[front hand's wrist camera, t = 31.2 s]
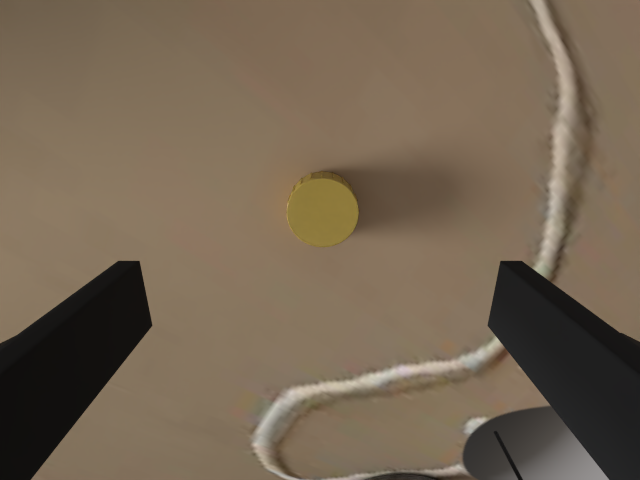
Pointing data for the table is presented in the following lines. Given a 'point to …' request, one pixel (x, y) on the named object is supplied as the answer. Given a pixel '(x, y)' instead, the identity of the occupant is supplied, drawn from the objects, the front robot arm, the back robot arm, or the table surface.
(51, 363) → the front robot arm
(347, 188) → the cap
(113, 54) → the table surface
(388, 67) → the table surface
